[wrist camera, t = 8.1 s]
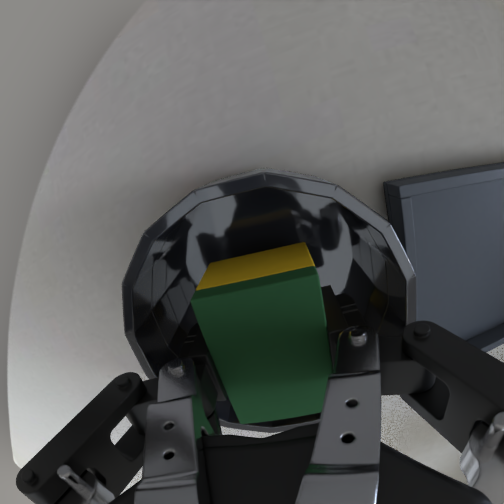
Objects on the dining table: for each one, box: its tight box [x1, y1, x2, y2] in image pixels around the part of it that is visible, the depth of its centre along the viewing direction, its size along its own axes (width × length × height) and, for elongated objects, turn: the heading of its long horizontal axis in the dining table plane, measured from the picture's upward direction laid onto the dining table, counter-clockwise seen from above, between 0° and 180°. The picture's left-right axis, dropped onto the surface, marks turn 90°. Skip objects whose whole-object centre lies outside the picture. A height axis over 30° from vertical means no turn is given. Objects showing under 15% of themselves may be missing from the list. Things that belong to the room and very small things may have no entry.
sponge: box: [190, 242, 333, 424], centre depth 11 cm, size 6×4×4 cm, turn 14°
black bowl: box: [122, 168, 416, 433], centre depth 13 cm, size 12×12×5 cm
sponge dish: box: [383, 162, 504, 352], centre depth 14 cm, size 12×12×2 cm
